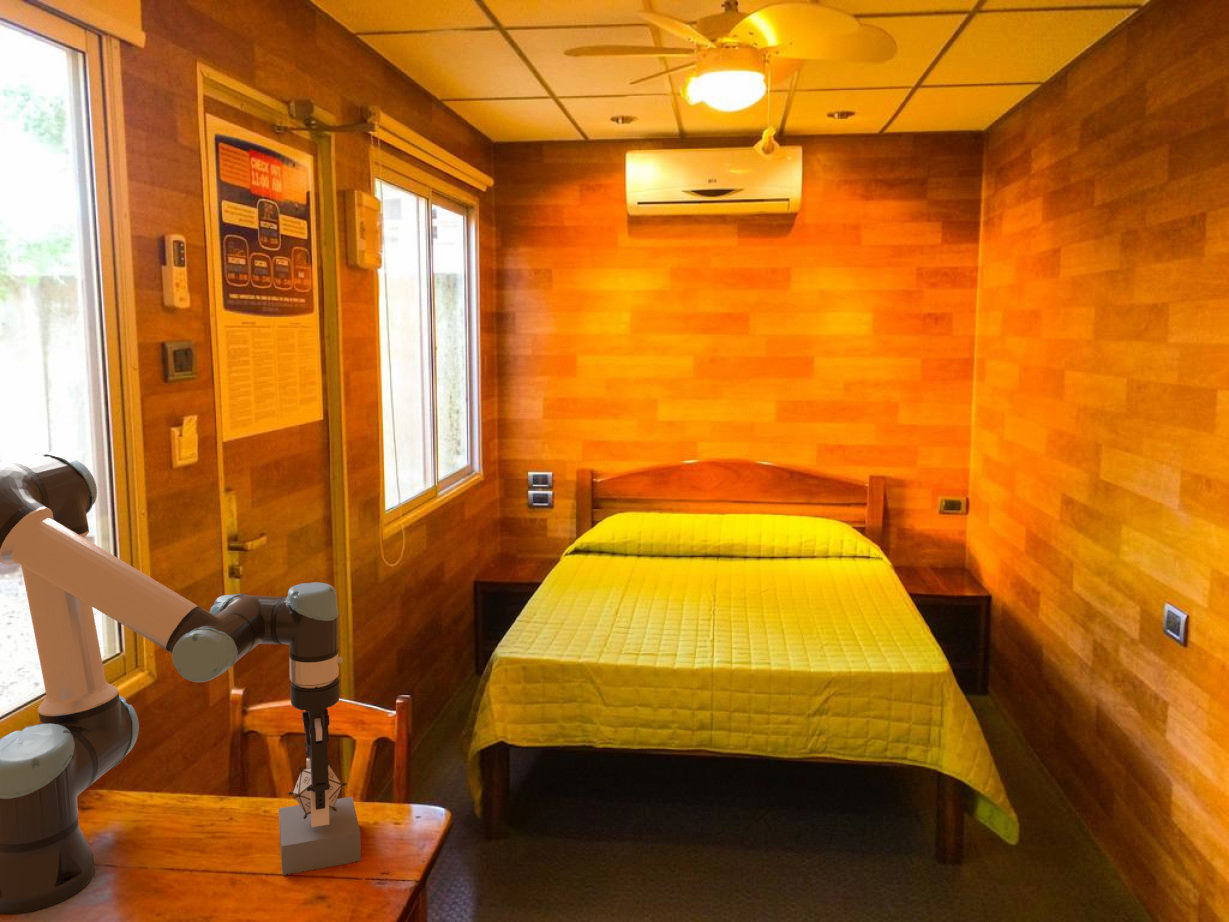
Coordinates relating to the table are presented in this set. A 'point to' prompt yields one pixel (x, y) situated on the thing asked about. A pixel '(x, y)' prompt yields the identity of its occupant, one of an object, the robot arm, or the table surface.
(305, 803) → the game die
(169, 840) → the table surface
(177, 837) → the table surface
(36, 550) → the robot arm
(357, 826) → the gray block
